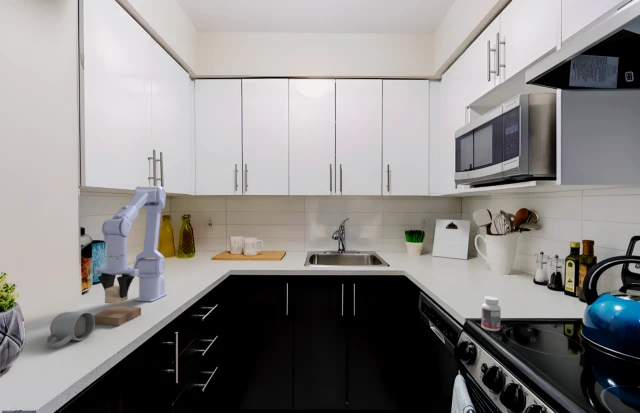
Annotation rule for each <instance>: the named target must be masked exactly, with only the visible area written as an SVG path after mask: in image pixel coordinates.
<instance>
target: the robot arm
mask: <svg viewBox="0 0 640 413" xmlns="http://www.w3.org/2000/svg"><path fill="white" fill-rule="evenodd" d="M166 197H167V195H166V190H165V188H164V187H163V186H142V185H141V186H139V185H138V186H136V187H135V188H134V190H133V197H132V199H131V200H130V202H129V203H128V204H124V205H122V206H121V208H120V209H119V210H118V211H117V212H116V213H115V214H114V215H113V216H112V217H111V218H108V219H107V220H105V221H103V223H102V227H101V233H102V234H103V239H104V242H105V257H106V258H105V261H106V262H105V264H106V265H105V266H100V267H99V266H98V267H95V268H94V275H99V276H98V277H97V280H98V281H99V282H100V284H101V285H102V288H103V290H104V291H105V289H107V288H109V287H112V286H115V282H116V281H117V282H118V286H119V288H120V298H124V297H126V296H127V293H129V291H130V290H129V289H130V287H131V284H132V282H133V280H134V278H136V276H137V278H138V288H139V289H138V297H135V298H134V299H133V301H139V302H141V301H142V302H154V301H156V300H158V299H161V298H163V297H165V296H167V295H168V294H167V293H165V292H166V289H165V288H166V286H165V285H166V281H165V276H164V275H163V273H164V271H165V268H166V267H165V266H166V264H165V256H164V255H163V254H162V252H160V251H158V246H159V238H160V237H159V236H160V227H161V226H160V225H161V215H162V214H161V213H162V210H163V209H165V207H166V200H167V198H166ZM141 208H142V209H144V210H146V220H145V228H144V229H145V231H144V240H143V250H142V251H141V252H140V253H138V254H137V255H136V258H135V262H134V263H133V268H132V267H127V266H128V262H127V261H128V259H127V257H128V255H127V252H128V251H127V250H128V249H127V247H128V246H127V245H128V244H127V241H128V239H127V236H128V235H129V234H130V233H131V229H132V225H133V223H134V221H136V219H137V218H138V216H139V210H140V209H141ZM116 276H118V277H116ZM115 279H117V280H115Z"/></svg>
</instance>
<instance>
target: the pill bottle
mask: <svg viewBox="0 0 640 413" xmlns="http://www.w3.org/2000/svg"><path fill="white" fill-rule="evenodd" d="M483 298H484V299H483V300H484V301H483V302H484V303H482V304H481V322H480V323H481V324H480V325H481V328H483V329H484V330H486V331H490V332H497V331H498V332H499V331H500V329H501V314H502V313H501V311H502V310H501V309H502V308H501V306H500V305H499V298H498V297H496V296H491V295H490V296H489V295H487V296H484V297H483Z"/></svg>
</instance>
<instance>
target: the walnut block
mask: <svg viewBox="0 0 640 413" xmlns="http://www.w3.org/2000/svg"><path fill="white" fill-rule="evenodd" d="M93 316H94V319H95V325H98V326H99V325H100V326H109V325H114V326H113V327H120V326H123V325H125V324H127V323H129V322H131V321H133V320H134V319H137V318H138V317H140V316H142V307H140V306H138V307H137V306H124V305H113V306H111V307H109V308H106V309H104V310H101V311H99V312H96V313H94V314H93Z"/></svg>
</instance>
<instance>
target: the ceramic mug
mask: <svg viewBox="0 0 640 413" xmlns="http://www.w3.org/2000/svg"><path fill="white" fill-rule="evenodd" d="M93 315H94V314H93V313H92V312H90V311H86V310H85V311H66V312H62V313H59V314H57V315H56V316H55V317H54V318H53V320H52V321H51V323H50V328H49V331H50V334H49V336H48V337H46V339H45V345H46V347H47V348H49V349H57V348H61V347H63V346H64V345H66V344H68V343H69V342H70V341H77V342H81V341H84V340H86V339H88V338H90V337H89V336H90V335H91V334H92V333H93V331H94V329H95V325H96V324H95V319H94V316H93ZM54 339H58V340H59V341H57V342H54V343H51V342H52V341H53V340H54Z"/></svg>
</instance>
